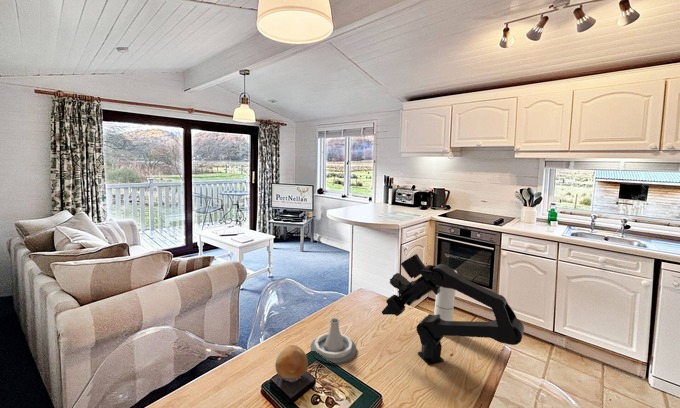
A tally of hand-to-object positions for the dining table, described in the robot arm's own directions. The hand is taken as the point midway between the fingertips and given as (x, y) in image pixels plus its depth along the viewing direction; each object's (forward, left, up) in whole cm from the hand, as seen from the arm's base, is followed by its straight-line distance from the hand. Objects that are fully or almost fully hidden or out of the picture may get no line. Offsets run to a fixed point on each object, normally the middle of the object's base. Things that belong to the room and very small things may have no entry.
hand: (388, 308), depth 115 cm
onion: (-10, +38, -13) cm, 42 cm away
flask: (0, +21, -12) cm, 24 cm away
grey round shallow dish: (0, +21, -13) cm, 25 cm away
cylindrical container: (0, -26, -13) cm, 29 cm away
